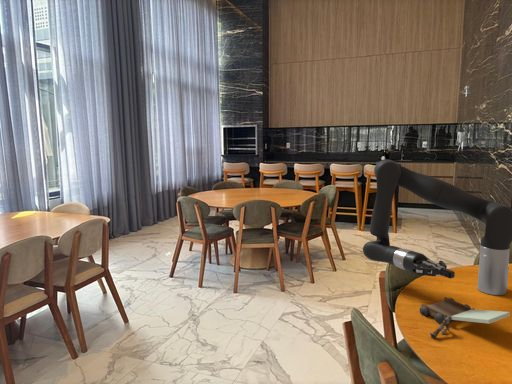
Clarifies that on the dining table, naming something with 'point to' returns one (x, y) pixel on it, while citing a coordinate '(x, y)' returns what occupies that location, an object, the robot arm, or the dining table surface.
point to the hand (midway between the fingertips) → (453, 275)
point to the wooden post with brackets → (441, 326)
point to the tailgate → (480, 316)
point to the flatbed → (444, 309)
